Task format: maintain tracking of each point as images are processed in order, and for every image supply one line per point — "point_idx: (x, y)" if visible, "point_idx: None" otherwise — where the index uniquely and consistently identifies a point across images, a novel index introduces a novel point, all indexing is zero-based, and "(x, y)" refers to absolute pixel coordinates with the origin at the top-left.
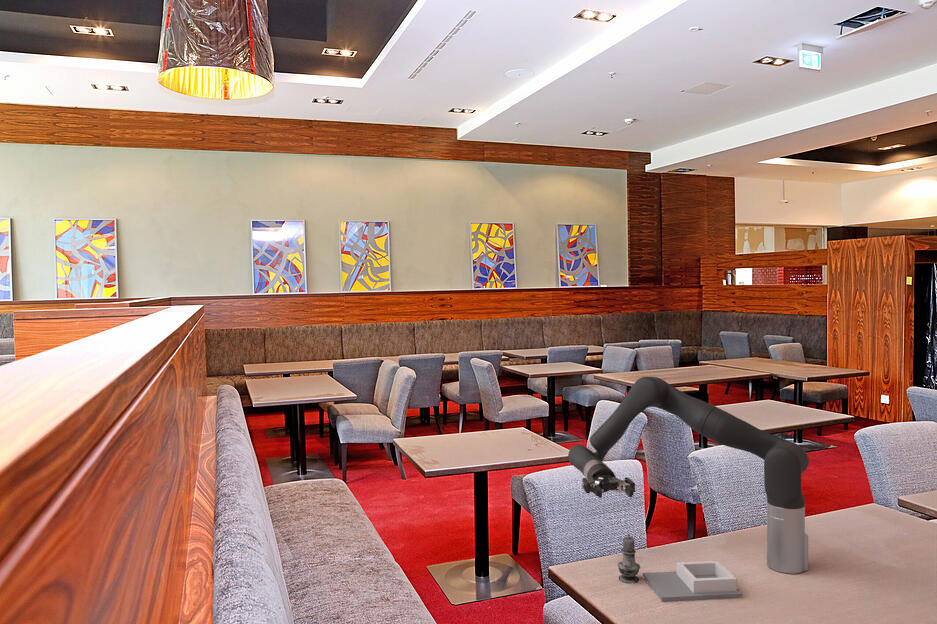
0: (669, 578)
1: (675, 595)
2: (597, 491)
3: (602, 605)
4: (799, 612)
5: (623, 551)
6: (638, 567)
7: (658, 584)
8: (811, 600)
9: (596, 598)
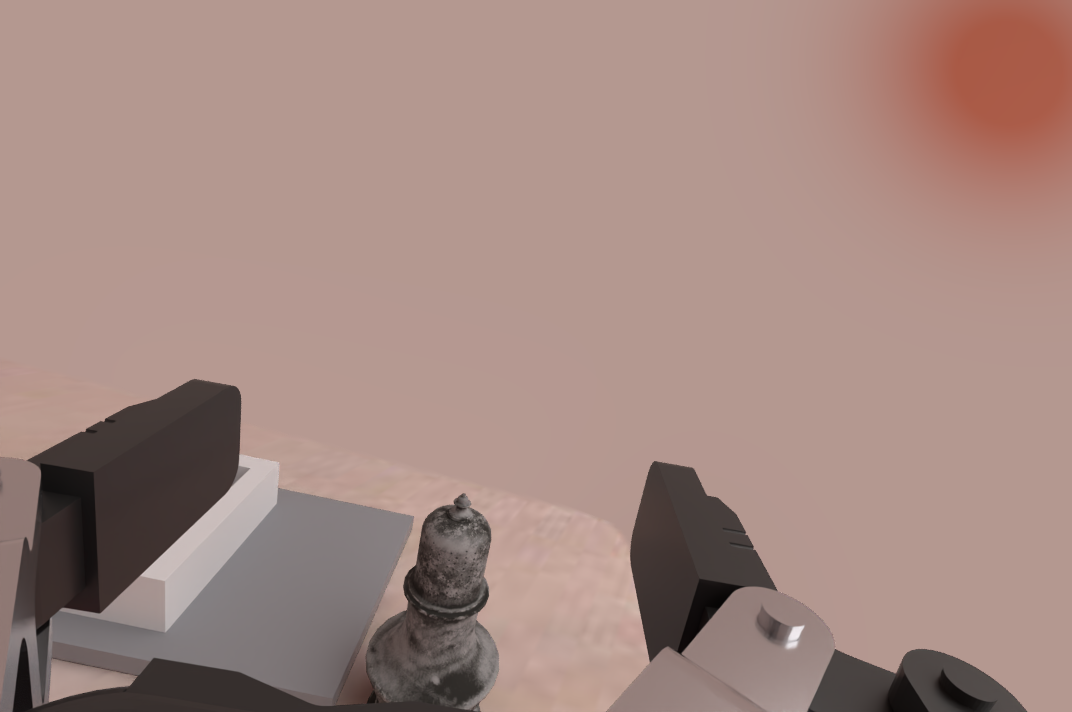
0: (251, 607)
1: (356, 510)
2: (712, 501)
3: (625, 569)
4: (76, 392)
5: (484, 582)
6: (399, 617)
7: (352, 581)
8: None
9: (637, 609)
